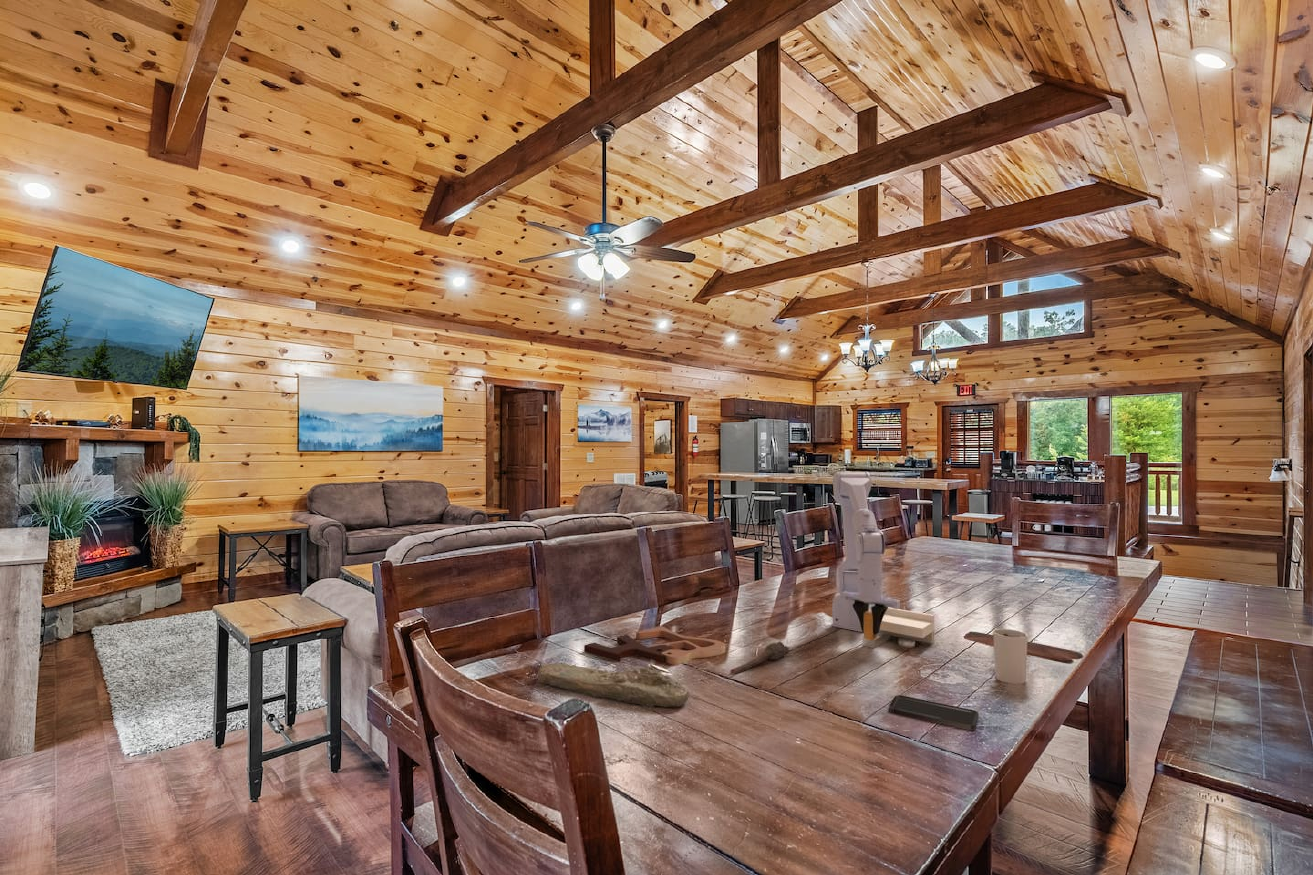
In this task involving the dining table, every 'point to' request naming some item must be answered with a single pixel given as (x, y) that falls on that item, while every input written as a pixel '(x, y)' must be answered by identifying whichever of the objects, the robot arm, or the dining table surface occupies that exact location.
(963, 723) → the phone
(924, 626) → the cream shelf
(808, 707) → the dining table surface
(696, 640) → the wood carving
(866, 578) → the robot arm
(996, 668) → the white cup
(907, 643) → the disc
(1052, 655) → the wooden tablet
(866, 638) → the blade tool
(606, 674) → the elongated rock
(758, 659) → the natural artifact
